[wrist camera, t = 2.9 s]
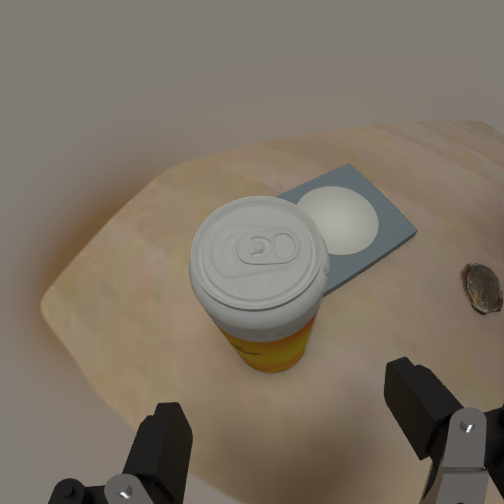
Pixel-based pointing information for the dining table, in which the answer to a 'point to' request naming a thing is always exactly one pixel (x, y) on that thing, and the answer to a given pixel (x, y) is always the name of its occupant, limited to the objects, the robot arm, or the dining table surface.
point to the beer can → (261, 278)
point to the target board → (351, 221)
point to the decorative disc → (481, 288)
